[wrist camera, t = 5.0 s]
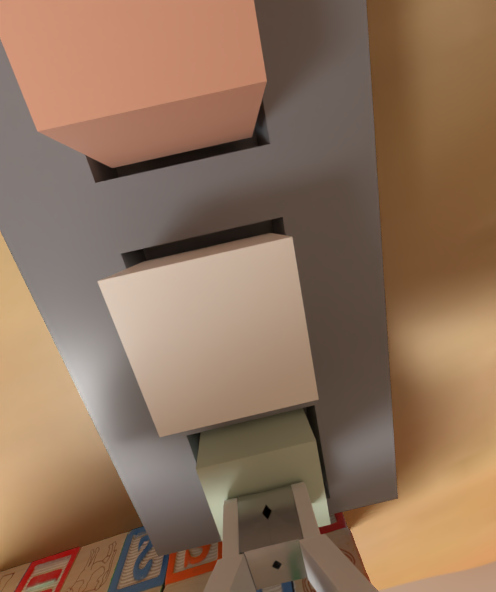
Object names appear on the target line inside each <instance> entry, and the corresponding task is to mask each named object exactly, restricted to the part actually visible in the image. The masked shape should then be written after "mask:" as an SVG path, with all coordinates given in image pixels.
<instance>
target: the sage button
mask: <svg viewBox="0 0 496 592" xmlns="http://www.w3.org/2000/svg"><path fill="white" fill-rule="evenodd" d="M196 471H197V474H198V477H199V480H200V482H201V485H202V488H203V491H204V493H205V496H206V499H207V502H208V504H209V507H210V510H211V513H212V515H213V518H214V521H215V523H216V526H217V529H218V532H219V534H220V537H221V540H223V505H224V500H229V499H233V498H237V497H242V496H247V495H251V494H256V493H260V492H265V491H267V490H270V489H274V488H278V487H282V486H286V485H289V484H290V485H292V484H296V483H299V482H303V481H304V482H305V484H306V487H307V491H308V494H309V497H310V501H311V504H312V507H313V511H314V514H315V517H316V521H317V524H318V527H322V526H326V525H330V524H331V523H330V517H329V511H328V506H327V500H326V494H325V489H324V483H323V477H322V472H321V466H320V460H319V455H318V449H317V443H316V439H315V437H314V434H313V432H312V429H311V427H310V425H309V422H308V420H307V417H306V415H305V412H304V410H303V408H300V409H296V410H292V411H288V412H283V413H279V414H275V415H271V416H267V417H262V418H258V419H254V420H250V421H246V422H241V423H237V424H233V425H229V426H225V427H220V428H216V429H212V430H208V431H203V432H201V434H200V441H199V449H198V456H197V464H196Z"/></svg>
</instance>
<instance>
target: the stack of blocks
mask: <svg viewBox="0 0 496 592" xmlns="http://www.w3.org/2000/svg"><path fill="white" fill-rule="evenodd" d="M329 517H330V523H331V524H330V525H326V526H322V527H319V531H320V534H326V535H327V536H328V538H329V539H330V540H331V541H332V542H333V543H334V544H335V545H336V546H337V547H338V548H339V549H340V550H341V552H342V553H343V554H344V555H345V556H346V557H347V558H348V559H349V560H350V561H351V562H352V563H353V565H354V566H355V567H356V568H357V569H358V570H359V571H360V572H361V573H362V574H363V575H364V576H365V577H366V579H367V580H368V581H369V582H370V579H369V577H368V575H367V573H366V570H365V568H364V565H363V562H362V559H361V557H360V554H359V552H358V549H357V547H356V544H355V541H354V538H353V536H352V533H351V531H350V529H349V528H348V526H347V523H346V521H345V518H344V515H343V512H340V513H335V514H331V515H329ZM219 559H222V541H221V542H217V543H212V544H208V545H204V546H200V547H196V548H192V549H188V550H184V551H180V552H176V553H171V554H167V555H163V556H159V557H158V555H157V553H156V551H155V549H154V547H153V545H152V543H151V541H150V539H149V536H148V534H147V532H146V530H145V528H144V526H143V527H140V528H136V529H133V530H131V531H130V532H125V533H122V534H119V535H116V536H113V537H110V538H107V539H104V540H101V541H98V542H95V543H92V544H89V545H86V546H83V547H77V548H74V549H70V550H67V551H64V552H61V553H58V554H55V555H52V556H49V557H46V558H43V559H40V560H37V561H33V562H31V563H26V564H23V565H20V566H17V567H14V568H11V569H8V570H5V571H2V572H0V592H203V591H204V589H205V587H206V584H207V582H208V580H209V578H210V576H211V574H212V571H213V569H214V567H215V565H216V563H217V560H219ZM370 583H371V582H370ZM256 592H316V590H315V589H314V587H313V586H312V584H311V583H310V581H309V580H308V578H304V579H299V580H295V581H290V582H285V583H281V584H277V585H274V586H270V587H267V588H263V589H260V590H256Z"/></svg>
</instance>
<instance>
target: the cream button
mask: <svg viewBox="0 0 496 592" xmlns="http://www.w3.org/2000/svg"><path fill="white" fill-rule="evenodd" d="M97 282H98V284H99V287H100V289H101V292H102V294H103V297H104V299H105V302H106V304H107V307H108V309H109V312H110V314H111V317H112V319H113V322H114V324H115V327H116V329H117V332H118V334H119V337H120V339H121V342H122V344H123V347H124V349H125V352H126V354H127V357H128V359H129V362H130V364H131V367H132V369H133V372H134V374H135V377H136V379H137V382H138V384H139V387H140V389H141V392H142V394H143V397H144V399H145V402H146V404H147V407H148V409H149V412H150V414H151V417H152V419H153V422H154V424H155V427H156V429H157V432H158V434H159V437H163V436H167V435H172V434H176V433H180V432H184V431H188V430H193V429H197V428H201V427H205V426H209V425H214V424H218V423H222V422H226V421H231V420H235V419H239V418H243V417H247V416H252V415H256V414H260V413H264V412H268V411H273V410H277V409H281V408H285V407H289V406H294V405H298V404H302V403H306V402H311V401H315V400H319V398H318V392H317V386H316V380H315V373H314V367H313V361H312V355H311V349H310V343H309V337H308V330H307V324H306V318H305V312H304V306H303V300H302V294H301V287H300V281H299V275H298V269H297V263H296V257H295V250H294V244H293V238H292V237H291V236H286V235H280V234H274V233H266V234H262V235H257V236H253V237H249V238H244V239H240V240H235V241H231V242H227V243H222V244H218V245H213V246H209V247H205V248H200V249H196V250H192V251H187V252H183V253H178V254H174V255H170V256H165V257H161V258H156V259H152V260H148V261H143V262H141V263H139V264H136V265H134V266H132V267H129V268H127V269H125V270H122V271H120V272H118V273H115V274H113V275H111V276H108V277H106V278H104V279H101V280H99V281H97Z"/></svg>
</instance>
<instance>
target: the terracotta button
mask: <svg viewBox="0 0 496 592" xmlns="http://www.w3.org/2000/svg"><path fill="white" fill-rule="evenodd" d="M0 39H1V42H2V44H3V47H4V49H5V52H6V54H7V57H8V59H9V62H10V64H11V67H12V69H13V72H14V74H15V77H16V79H17V82H18V84H19V87H20V89H21V92H22V94H23V97H24V99H25V102H26V104H27V107H28V109H29V112H30V114H31V117H32V119H33V122H34V124H35V127H36V129H37V131H38V132H40V133H42V134H44V135H46V136H48V137H50V138H52V139H54V140H56V141H58V142H60V143H62V144H64V145H66V146H68V147H70V148H72V149H74V150H76V151H78V152H80V153H82V154H84V155H86V156H88V157H90V158H92V159H94V160H97V161H99V162H101V163H103V164H105V165H107V166H109V167H111V168H115V167H120V166H124V165H129V164H133V163H138V162H142V161H147V160H151V159H156V158H160V157H165V156H169V155H174V154H178V153H183V152H187V151H192V150H196V149H201V148H205V147H210V146H214V145H219V144H223V143H228V142H232V141H237V140H241V139H246V138H250V137H252V135H253V131H254V127H255V124H256V120H257V116H258V113H259V109H260V105H261V101H262V98H263V94H264V90H265V87H266V83H267V78H266V72H265V66H264V60H263V54H262V47H261V41H260V35H259V29H258V23H257V17H256V10H255V4H254V0H0Z"/></svg>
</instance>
